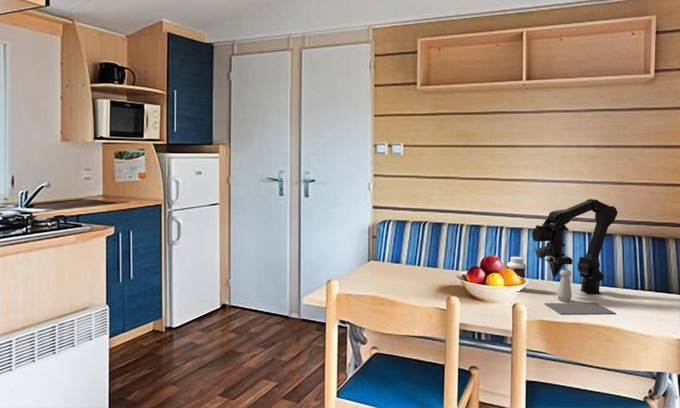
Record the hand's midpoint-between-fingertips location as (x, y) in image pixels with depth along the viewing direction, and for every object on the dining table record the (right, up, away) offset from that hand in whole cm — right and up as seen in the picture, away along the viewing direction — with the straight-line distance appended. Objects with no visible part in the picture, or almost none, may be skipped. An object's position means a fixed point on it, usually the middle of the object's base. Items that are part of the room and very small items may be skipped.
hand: (554, 276), depth 237 cm
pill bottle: (-14, -7, +9) cm, 18 cm away
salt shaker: (+1, -9, -9) cm, 13 cm away
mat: (+2, -10, -20) cm, 23 cm away
